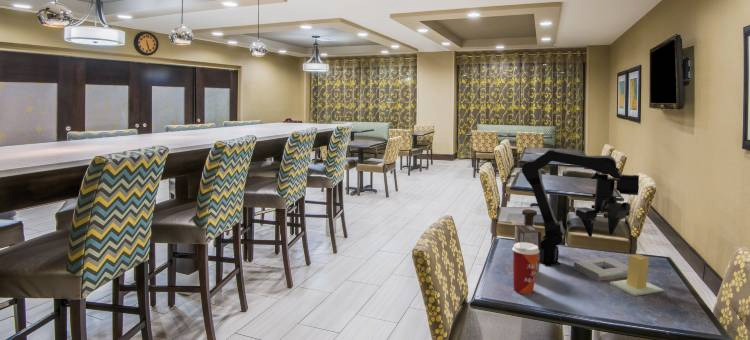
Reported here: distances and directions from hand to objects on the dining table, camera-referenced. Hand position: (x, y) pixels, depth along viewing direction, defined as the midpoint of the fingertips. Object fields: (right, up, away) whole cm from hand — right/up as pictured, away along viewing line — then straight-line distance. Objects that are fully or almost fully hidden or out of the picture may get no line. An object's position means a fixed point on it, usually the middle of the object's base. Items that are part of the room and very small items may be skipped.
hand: (600, 235), depth 170 cm
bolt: (-17, -8, +28) cm, 34 cm away
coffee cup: (-32, -16, -15) cm, 39 cm away
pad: (+6, -15, -12) cm, 21 cm away
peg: (+6, -15, -13) cm, 20 cm away
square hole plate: (+1, -13, +1) cm, 13 cm away
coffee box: (-27, -13, 0) cm, 30 cm away
